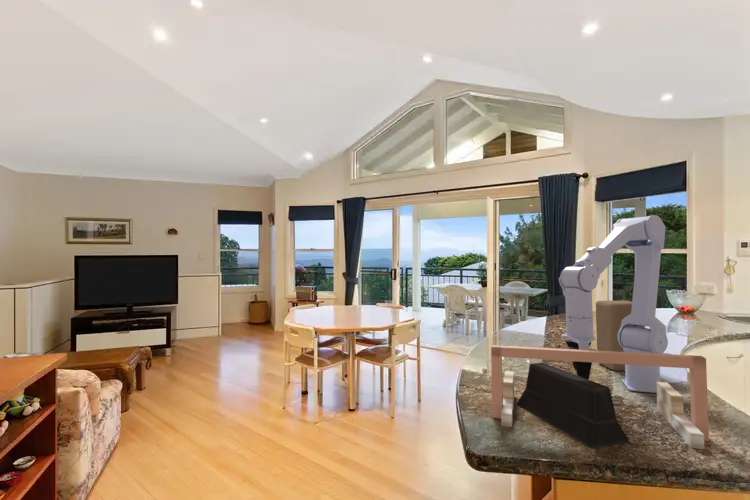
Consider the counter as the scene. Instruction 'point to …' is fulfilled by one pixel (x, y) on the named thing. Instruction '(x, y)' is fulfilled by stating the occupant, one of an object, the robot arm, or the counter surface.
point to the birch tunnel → (666, 404)
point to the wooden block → (611, 327)
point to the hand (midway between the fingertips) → (581, 374)
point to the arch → (629, 358)
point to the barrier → (572, 405)
